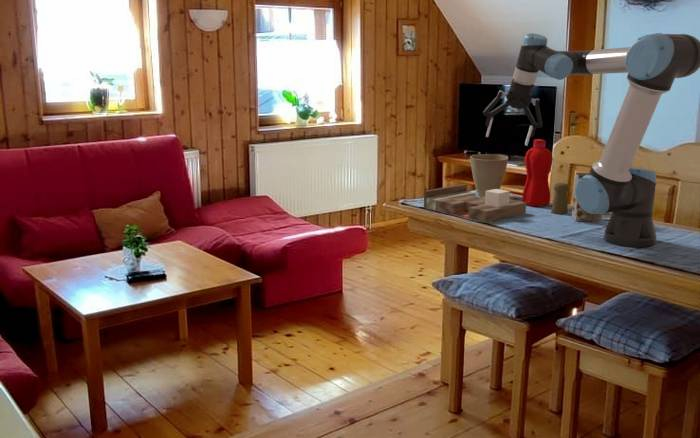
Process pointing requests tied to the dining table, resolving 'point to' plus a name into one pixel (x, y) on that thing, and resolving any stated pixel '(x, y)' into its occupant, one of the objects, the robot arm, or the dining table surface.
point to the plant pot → (488, 171)
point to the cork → (560, 199)
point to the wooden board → (469, 204)
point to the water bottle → (537, 175)
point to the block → (497, 197)
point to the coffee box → (577, 211)
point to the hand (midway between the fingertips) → (506, 140)
